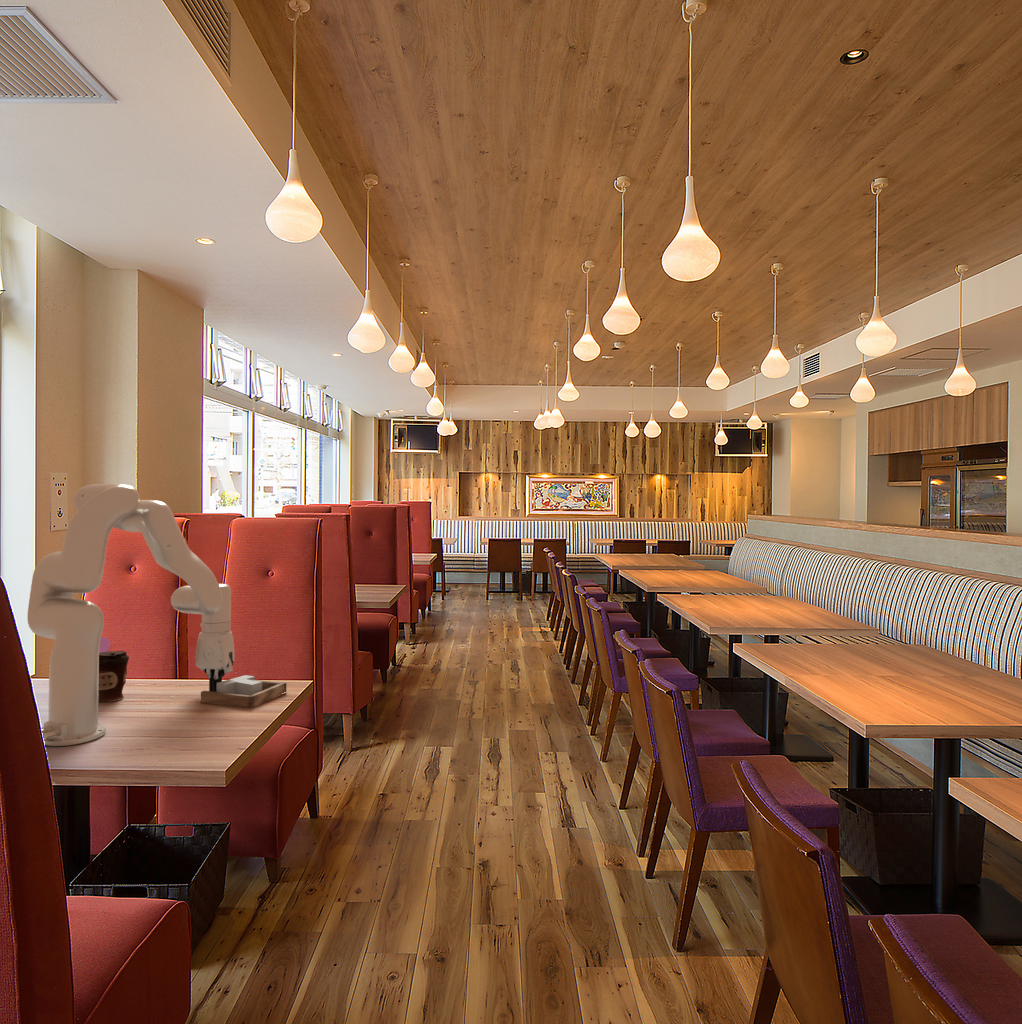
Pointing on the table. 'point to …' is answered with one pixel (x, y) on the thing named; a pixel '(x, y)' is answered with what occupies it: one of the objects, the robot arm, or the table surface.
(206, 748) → the table surface
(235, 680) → the tee block
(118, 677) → the coffee cup
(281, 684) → the corral
